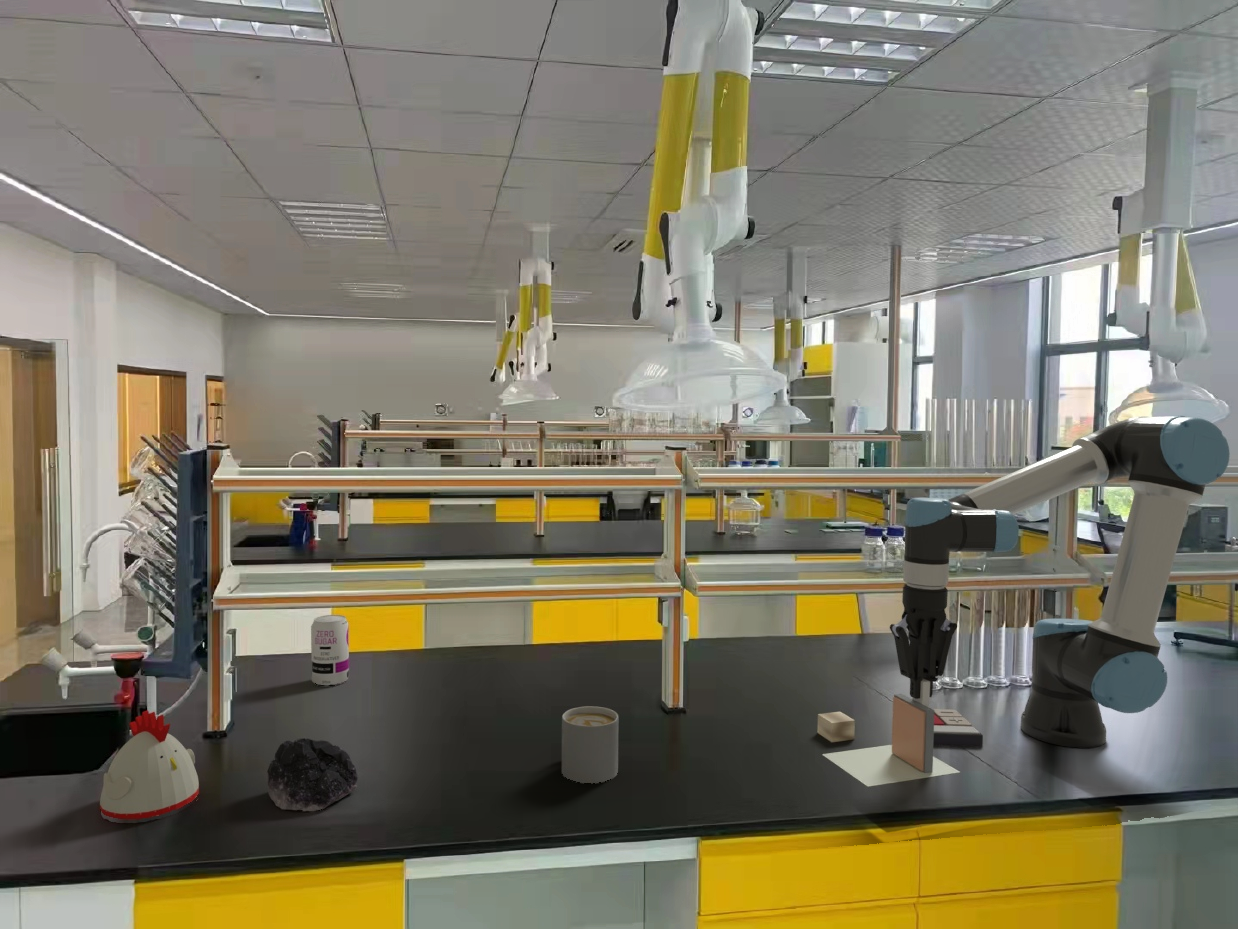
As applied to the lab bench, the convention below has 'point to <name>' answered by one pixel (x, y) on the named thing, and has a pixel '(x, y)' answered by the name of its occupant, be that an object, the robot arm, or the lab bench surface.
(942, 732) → the calculator
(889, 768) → the board
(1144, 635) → the robot arm
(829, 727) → the block
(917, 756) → the tile
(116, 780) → the white chicken figure
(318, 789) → the crystal cluster
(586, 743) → the coffee mug
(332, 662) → the supplement can
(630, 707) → the lab bench surface
